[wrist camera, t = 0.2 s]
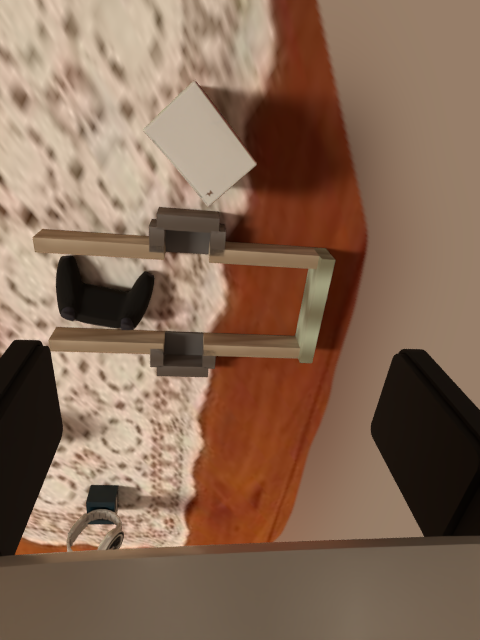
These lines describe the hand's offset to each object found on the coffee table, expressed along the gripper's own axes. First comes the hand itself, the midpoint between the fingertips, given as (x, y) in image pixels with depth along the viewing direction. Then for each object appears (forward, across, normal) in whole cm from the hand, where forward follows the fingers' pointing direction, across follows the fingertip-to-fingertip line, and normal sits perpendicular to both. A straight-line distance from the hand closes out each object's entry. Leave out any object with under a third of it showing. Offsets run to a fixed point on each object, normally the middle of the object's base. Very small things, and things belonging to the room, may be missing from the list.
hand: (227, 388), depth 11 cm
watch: (+37, +14, +52) cm, 66 cm away
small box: (+37, 0, -4) cm, 37 cm away
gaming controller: (+37, +11, +14) cm, 41 cm away
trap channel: (+37, +2, +14) cm, 39 cm away
